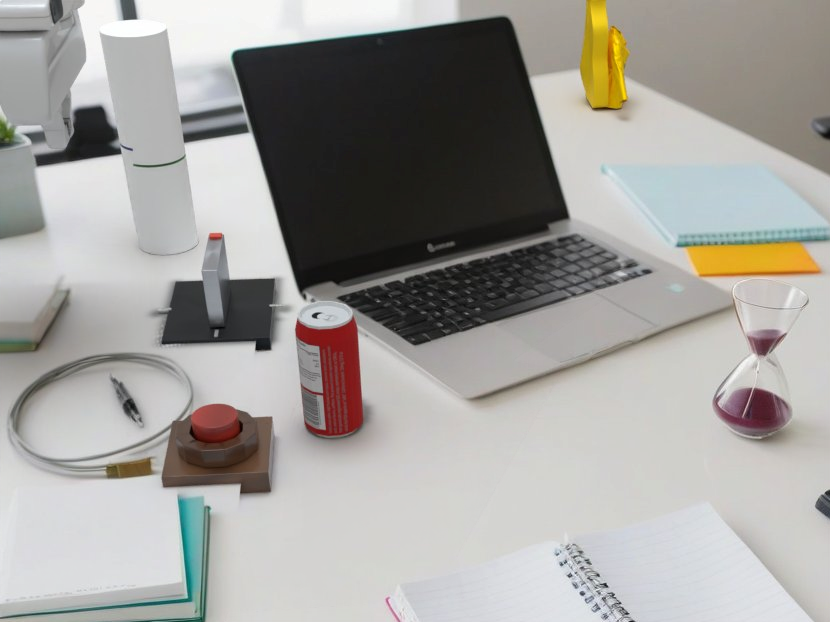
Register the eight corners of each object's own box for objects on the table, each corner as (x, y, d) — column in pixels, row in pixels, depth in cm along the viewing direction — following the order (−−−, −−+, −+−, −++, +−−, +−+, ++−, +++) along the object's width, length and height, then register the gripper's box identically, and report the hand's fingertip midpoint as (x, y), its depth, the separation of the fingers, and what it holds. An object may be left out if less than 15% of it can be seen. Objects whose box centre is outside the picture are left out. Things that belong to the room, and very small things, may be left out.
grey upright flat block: (225, 327, 121) (216, 267, 117) (209, 327, 121) (200, 268, 117) (231, 289, 128) (223, 231, 124) (216, 289, 128) (208, 232, 124)
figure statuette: (636, 121, 182) (650, -30, 168) (587, 122, 181) (597, -30, 167) (613, 86, 196) (624, -56, 182) (568, 87, 195) (576, -56, 181)
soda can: (372, 415, 111) (365, 302, 104) (349, 445, 107) (340, 329, 100) (319, 404, 112) (309, 292, 105) (294, 434, 108) (282, 319, 101)
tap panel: (281, 349, 121) (280, 335, 120) (152, 354, 119) (149, 340, 118) (285, 289, 132) (284, 276, 131) (167, 293, 130) (165, 280, 129)
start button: (191, 445, 100) (188, 428, 99) (195, 421, 103) (193, 404, 102) (238, 443, 100) (236, 426, 99) (241, 419, 103) (239, 402, 102)
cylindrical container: (171, 225, 145) (137, 16, 130) (210, 240, 142) (180, 27, 127) (126, 244, 141) (85, 29, 126) (165, 260, 137) (128, 40, 122)
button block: (165, 498, 100) (157, 459, 97) (176, 440, 107) (169, 403, 104) (270, 492, 101) (266, 454, 98) (274, 436, 108) (270, 399, 105)
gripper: (16, -42, 108) (48, 106, 117) (-39, 14, 92) (3, 182, 100) (85, -42, 109) (112, 106, 117) (43, 14, 93) (78, 181, 101)
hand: (61, 142), depth 109 cm, fingers closed
